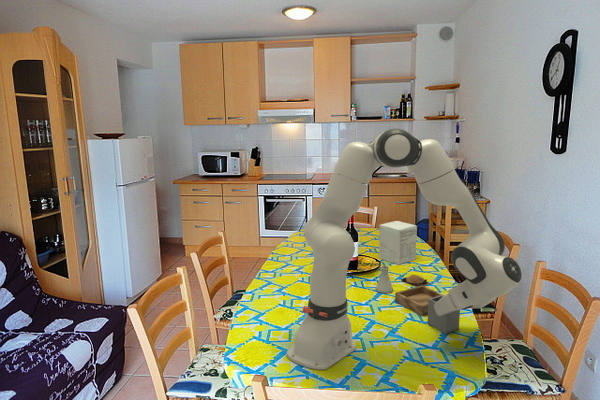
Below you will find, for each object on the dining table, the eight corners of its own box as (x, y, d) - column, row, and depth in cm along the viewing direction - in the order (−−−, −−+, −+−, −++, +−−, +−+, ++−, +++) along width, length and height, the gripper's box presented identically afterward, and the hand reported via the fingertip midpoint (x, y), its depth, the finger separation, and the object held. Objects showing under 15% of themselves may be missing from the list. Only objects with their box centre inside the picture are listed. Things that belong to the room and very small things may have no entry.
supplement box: (416, 259, 200) (417, 225, 196) (398, 265, 192) (399, 229, 189) (396, 252, 210) (397, 220, 207) (378, 257, 203) (378, 224, 200)
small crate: (458, 329, 133) (460, 304, 131) (445, 334, 130) (447, 308, 128) (440, 319, 140) (441, 295, 138) (427, 323, 137) (428, 299, 135)
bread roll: (431, 284, 171) (432, 276, 170) (420, 289, 165) (420, 281, 165) (410, 277, 179) (411, 269, 178) (399, 282, 174) (399, 274, 173)
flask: (393, 294, 160) (394, 270, 159) (375, 293, 162) (375, 269, 160) (393, 287, 167) (393, 264, 166) (375, 286, 169) (375, 263, 167)
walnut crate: (450, 307, 148) (450, 298, 148) (422, 316, 142) (422, 307, 141) (422, 293, 161) (422, 285, 160) (395, 301, 154) (395, 292, 153)
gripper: (492, 276, 127) (465, 293, 138) (446, 290, 118) (421, 307, 128) (504, 294, 124) (475, 311, 135) (458, 310, 115) (431, 326, 125)
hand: (448, 309), depth 132 cm, fingers open, 8 cm apart
